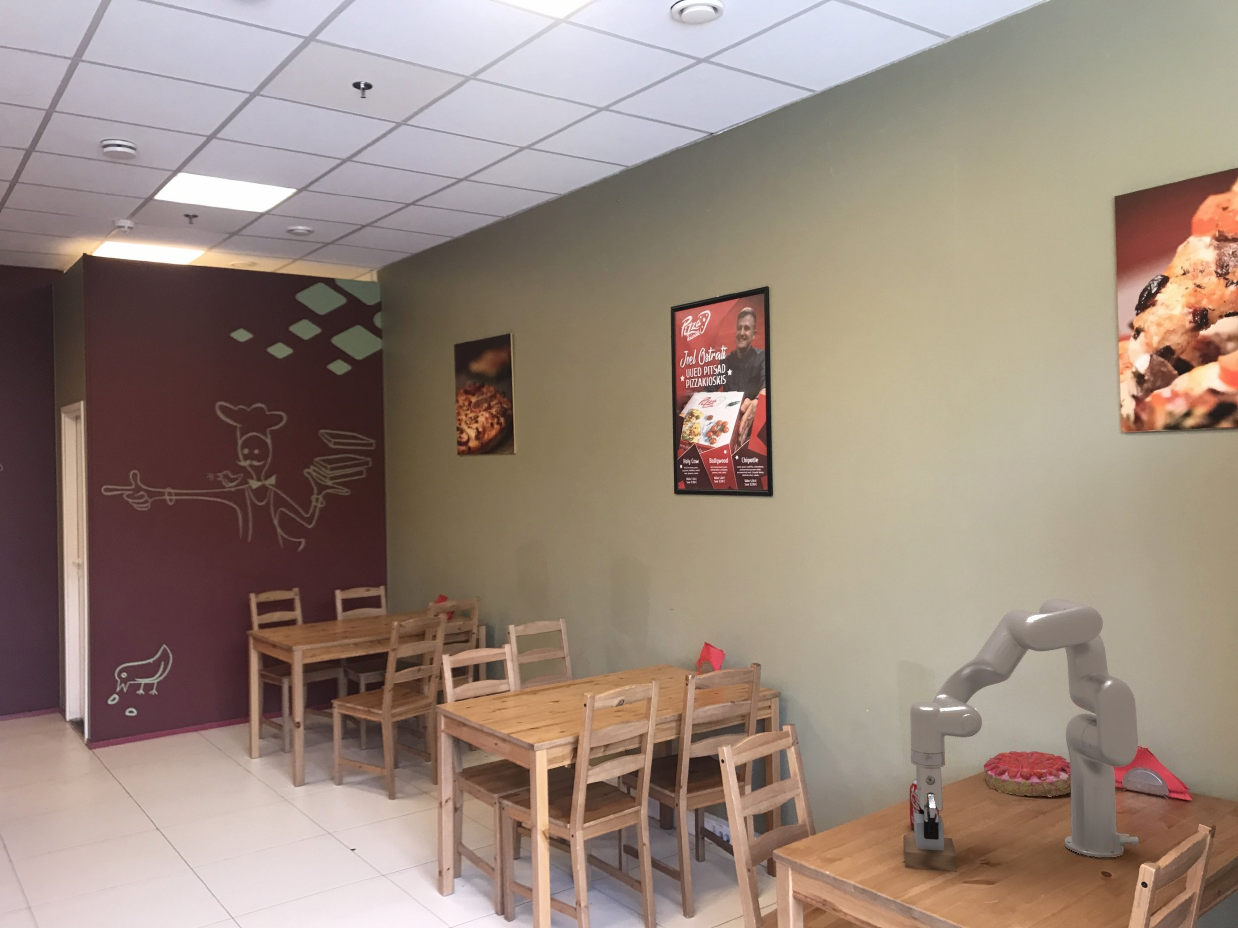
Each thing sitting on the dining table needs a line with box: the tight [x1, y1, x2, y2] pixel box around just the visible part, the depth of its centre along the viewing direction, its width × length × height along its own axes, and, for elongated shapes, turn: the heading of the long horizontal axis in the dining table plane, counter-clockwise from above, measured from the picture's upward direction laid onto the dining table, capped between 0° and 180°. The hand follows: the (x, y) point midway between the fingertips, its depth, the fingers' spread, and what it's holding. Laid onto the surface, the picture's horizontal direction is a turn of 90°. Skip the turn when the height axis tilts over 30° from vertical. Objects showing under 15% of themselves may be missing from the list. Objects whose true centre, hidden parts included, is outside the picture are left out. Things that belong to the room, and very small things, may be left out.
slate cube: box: [913, 814, 945, 850], centre depth 223 cm, size 6×6×6 cm
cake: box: [983, 750, 1071, 797], centre depth 276 cm, size 25×25×8 cm
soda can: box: [909, 778, 940, 829], centre depth 242 cm, size 7×7×12 cm
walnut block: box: [902, 834, 957, 873], centre depth 223 cm, size 11×11×4 cm
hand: (928, 830), depth 223 cm, fingers open, 9 cm apart
